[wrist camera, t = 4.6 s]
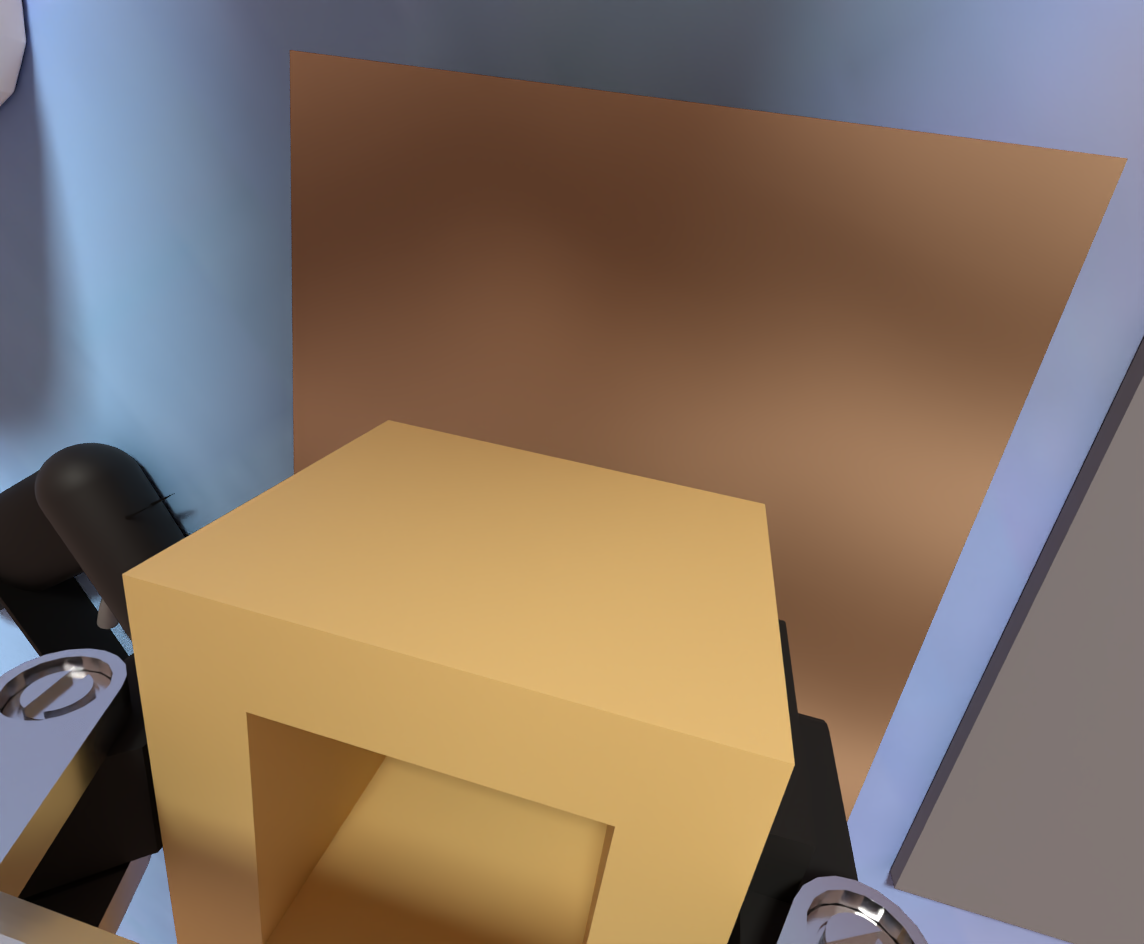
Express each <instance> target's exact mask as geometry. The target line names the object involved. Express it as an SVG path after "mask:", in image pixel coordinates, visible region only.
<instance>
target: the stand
mask: <svg viewBox="0 0 1144 944" xmlns="http://www.w3.org/2000/svg"><path fill="white" fill-rule="evenodd" d="M290 126H291V229H292V332H293V434H294V474H296V473H298V472H300V471H301V470H303V469H305V468H306V467H308V466H310V465H312V464H313V463H315V462H317V461H319V460H320V459H322V458H324V457H325V456H327V455H329V454H331V453H332V452H334V451H336V450H338V449H339V448H341V447H343V446H344V445H346V444H348V443H350V442H351V441H353V440H355V439H357V438H358V437H360V436H362V435H363V434H365V433H367V432H369V431H370V430H372V429H374V428H376V427H377V426H379V425H381V424H382V423H384V422H386V421H388V420H390V421H395V422H399V423H404V424H408V425H413V426H417V427H422V428H426V429H431V430H435V431H440V432H444V433H449V434H453V435H458V436H462V437H467V438H471V439H476V440H480V441H485V442H489V443H493V444H498V445H502V446H507V447H511V448H516V449H520V450H525V451H529V452H534V453H538V454H543V455H547V456H552V457H556V458H561V459H565V460H570V461H574V462H579V463H583V464H588V465H592V466H596V467H601V468H605V469H610V470H614V471H619V472H623V473H628V474H632V475H637V476H641V477H646V478H650V479H655V480H659V481H664V482H668V483H673V484H677V485H682V486H686V487H691V488H695V489H700V490H704V491H708V492H713V493H717V494H722V495H726V496H731V497H735V498H740V499H744V500H749V501H753V502H758V503H762V504H765V508H766V517H767V526H768V535H769V543H770V552H771V561H772V569H773V578H774V587H775V596H776V604H777V613H778V619H780V620H784V621H785V623H786V627H787V635H788V642H789V650H790V657H791V665H792V672H793V680H794V687H795V695H796V702H797V709H798V713H800V714H804V715H808V716H811V717H815V718H819V719H822V720H824V721H825V722H826V723H827V725H828V728H829V732H830V737H831V742H832V747H833V753H834V758H835V763H836V768H837V773H838V779H839V784H840V789H841V794H842V800H843V805H844V810H845V815H846V821H848V819H849V816H850V814H851V811H852V809H853V807H854V804H855V802H856V800H857V797H858V795H859V793H860V790H861V788H862V785H863V783H864V781H865V778H866V776H867V774H868V771H869V769H870V767H871V764H872V762H873V759H874V757H875V755H876V752H877V750H878V748H879V745H880V743H881V741H882V738H883V736H884V733H885V731H886V729H887V726H888V724H889V722H890V719H891V717H892V715H893V712H894V710H895V707H896V705H897V703H898V700H899V698H900V696H901V693H902V691H903V689H904V686H905V684H906V681H907V679H908V677H909V674H910V672H911V670H912V667H913V665H914V663H915V660H916V658H917V655H918V653H919V651H920V648H921V646H922V644H923V641H924V639H925V637H926V634H927V632H928V629H929V627H930V625H931V622H932V620H933V618H934V615H935V613H936V611H937V608H938V606H939V603H940V601H941V599H942V596H943V594H944V592H945V589H946V587H947V585H948V582H949V580H950V577H951V575H952V573H953V570H954V568H955V566H956V563H957V561H958V559H959V556H960V554H961V551H962V549H963V547H964V544H965V542H966V540H967V537H968V535H969V533H970V530H971V528H972V525H973V523H974V521H975V518H976V516H977V514H978V511H979V509H980V507H981V504H982V502H983V499H984V497H985V495H986V492H987V490H988V488H989V485H990V483H991V481H992V478H993V476H994V473H995V471H996V469H997V466H998V464H999V462H1000V459H1001V457H1002V455H1003V452H1004V450H1005V447H1006V445H1007V443H1008V440H1009V438H1010V436H1011V433H1012V431H1013V429H1014V426H1015V424H1016V421H1017V419H1018V417H1019V414H1020V412H1021V410H1022V407H1023V405H1024V403H1025V400H1026V398H1027V395H1028V393H1029V391H1030V388H1031V386H1032V384H1033V381H1034V379H1035V377H1036V374H1037V372H1038V369H1039V367H1040V365H1041V362H1042V360H1043V358H1044V355H1045V353H1046V351H1047V348H1048V346H1049V344H1050V341H1051V339H1052V336H1053V334H1054V332H1055V329H1056V327H1057V325H1058V322H1059V320H1060V318H1061V315H1062V313H1063V310H1064V308H1065V306H1066V303H1067V301H1068V299H1069V296H1070V294H1071V292H1072V289H1073V287H1074V284H1075V282H1076V280H1077V277H1078V275H1079V273H1080V270H1081V268H1082V266H1083V263H1084V261H1085V258H1086V256H1087V254H1088V251H1089V249H1090V247H1091V244H1092V242H1093V240H1094V237H1095V235H1096V232H1097V230H1098V228H1099V225H1100V223H1101V221H1102V218H1103V216H1104V214H1105V211H1106V209H1107V206H1108V204H1109V202H1110V199H1111V197H1112V195H1113V192H1114V190H1115V188H1116V185H1117V183H1118V180H1119V178H1120V176H1121V173H1122V171H1123V169H1124V166H1125V164H1126V162H1127V158H1119V157H1111V156H1104V155H1096V154H1088V153H1080V152H1073V151H1065V150H1057V149H1050V148H1042V147H1034V146H1026V145H1019V144H1011V143H1003V142H996V141H988V140H980V139H972V138H965V137H957V136H949V135H942V134H934V133H926V132H918V131H911V130H903V129H895V128H888V127H880V126H872V125H864V124H857V123H849V122H841V121H834V120H826V119H818V118H810V117H803V116H795V115H787V114H780V113H772V112H764V111H756V110H749V109H741V108H733V107H726V106H718V105H710V104H702V103H695V102H687V101H679V100H672V99H664V98H656V97H648V96H641V95H633V94H625V93H617V92H610V91H602V90H594V89H587V88H579V87H571V86H563V85H556V84H548V83H540V82H533V81H525V80H517V79H509V78H502V77H494V76H486V75H479V74H471V73H463V72H455V71H448V70H440V69H432V68H425V67H417V66H409V65H401V64H394V63H386V62H378V61H371V60H363V59H355V58H347V57H340V56H332V55H324V54H317V53H309V52H301V51H293V50H290Z"/></svg>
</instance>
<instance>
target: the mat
mask: <svg viewBox="0 0 1144 944" xmlns="http://www.w3.org/2000/svg"><path fill="white" fill-rule="evenodd" d="M890 872H891V876H892V880H893V884H894V888H896V889H899V890H902V891H905V892H909V893H912V894H915V895H918V896H922V897H925V898H928V899H931V900H935V901H938V902H941V903H944V904H948V905H951V906H954V907H957V908H961V909H964V910H967V911H970V912H973V913H977V914H980V915H983V916H986V917H990V918H993V919H996V920H999V921H1003V922H1006V923H1009V924H1012V925H1016V926H1019V927H1022V928H1025V929H1029V930H1032V931H1035V932H1038V933H1042V934H1045V935H1048V936H1051V937H1055V938H1058V939H1061V940H1064V941H1068V942H1071V943H1074V944H1144V339H1143V341H1142V343H1141V345H1140V347H1139V349H1138V351H1137V353H1136V356H1135V358H1134V360H1133V362H1132V364H1131V366H1130V368H1129V370H1128V372H1127V374H1126V377H1125V379H1124V381H1123V383H1122V385H1121V387H1120V389H1119V391H1118V393H1117V395H1116V398H1115V400H1114V402H1113V404H1112V406H1111V408H1110V410H1109V412H1108V414H1107V416H1106V419H1105V421H1104V423H1103V425H1102V427H1101V429H1100V431H1099V433H1098V435H1097V438H1096V440H1095V442H1094V444H1093V446H1092V448H1091V450H1090V452H1089V454H1088V456H1087V459H1086V461H1085V463H1084V465H1083V467H1082V469H1081V471H1080V473H1079V475H1078V477H1077V480H1076V482H1075V484H1074V486H1073V488H1072V490H1071V492H1070V494H1069V496H1068V498H1067V501H1066V503H1065V505H1064V507H1063V509H1062V511H1061V513H1060V515H1059V517H1058V520H1057V522H1056V524H1055V526H1054V528H1053V530H1052V532H1051V534H1050V536H1049V538H1048V541H1047V543H1046V545H1045V547H1044V549H1043V551H1042V553H1041V555H1040V557H1039V559H1038V562H1037V564H1036V566H1035V568H1034V570H1033V572H1032V574H1031V576H1030V578H1029V581H1028V583H1027V585H1026V587H1025V589H1024V591H1023V593H1022V595H1021V597H1020V599H1019V602H1018V604H1017V606H1016V608H1015V610H1014V612H1013V614H1012V616H1011V618H1010V620H1009V623H1008V625H1007V627H1006V629H1005V631H1004V633H1003V635H1002V637H1001V639H1000V641H999V644H998V646H997V648H996V650H995V652H994V654H993V656H992V658H991V660H990V663H989V665H988V667H987V669H986V671H985V673H984V675H983V677H982V679H981V681H980V684H979V686H978V688H977V690H976V692H975V694H974V696H973V698H972V700H971V702H970V705H969V707H968V709H967V711H966V713H965V715H964V717H963V719H962V721H961V723H960V726H959V728H958V730H957V732H956V734H955V736H954V738H953V740H952V742H951V745H950V747H949V749H948V751H947V753H946V755H945V757H944V759H943V761H942V763H941V766H940V768H939V770H938V772H937V774H936V776H935V778H934V780H933V782H932V784H931V787H930V789H929V791H928V793H927V795H926V797H925V799H924V801H923V803H922V805H921V808H920V810H919V812H918V814H917V816H916V818H915V820H914V822H913V824H912V827H911V829H910V831H909V833H908V835H907V837H906V839H905V841H904V843H903V845H902V848H901V850H900V852H899V854H898V856H897V858H896V860H895V862H894V864H893V866H892V869H891V871H890Z"/></svg>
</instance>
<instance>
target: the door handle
mask: <svg viewBox="0 0 1144 944" xmlns="http://www.w3.org/2000/svg"><path fill="white" fill-rule="evenodd" d="M172 495H173V494H172ZM169 496H171V495H169ZM169 496H167V497H164V498H162V499H160V497H159V496H158V494H157V493H156V491H155V490H154V488H153V486H152V485H151V483H150V482H149V480H148V479H147V477H146V476H145V474H144V472H143V471H142V469H141V468H140V466H139V465H138V463H137V462H136V461H135V460H134V459H133V458H132V457H131V456H129V455H128V454H127V453H125V452H124V451H122V450H120V449H118V448H115V447H113V446H109V445H105V444H99V443H83V444H77V445H73V446H70V447H67V448H64V449H62V450H60V451H58V452H57V453H55V454H54V455H52V456H51V457H50V458H49V459H48V460H47V461H46V462H45V463H44V464H43V465H42V467H41V468H40V470H39V471H37V472H35V473H34V474H32V475H30V476H29V477H27V478H25V479H24V480H22V481H20V482H19V483H17V484H15V485H14V486H12V487H10V488H9V489H7V490H5V491H4V492H2V493H0V610H2V609H4V608H5V609H6V611H7V612H8V613H9V615H10V616H11V617H12V619H13V620H14V622H15V623H16V624H17V626H18V627H19V628H20V630H21V631H22V633H23V634H24V635H25V637H26V638H27V639H28V641H29V642H30V644H31V645H32V646H33V648H34V649H35V650H36V652H37V653H38V655H39V656H40V657H41V656H43V655H46V654H51V653H55V652H60V651H65V650H73V649H96V650H104V651H107V652H110V653H112V654H114V655H117V656H118V657H119V658H120V659H121V660H122V661H123V660H125V659H126V658H128V657H129V656H128V654H127V653H126V652H125V650H124V649H123V647H122V646H121V644H120V643H119V641H118V640H117V639H116V637H115V636H114V634H113V633H112V631H111V630H110V628H113V627H115V626H117V625H118V622H119V623H120V625H121V626H122V628H123V629H124V631H125V632H126V634H127V635H128V637H129V638H130V640H131V641H132V637H131V631H130V624H129V617H128V611H127V604H126V597H125V591H124V584H123V577H122V574H123V573H125V572H127V571H129V570H130V569H132V568H134V567H136V566H137V565H139V564H141V563H142V562H144V561H146V560H148V559H149V558H151V557H153V556H155V555H156V554H158V553H160V552H161V551H163V550H165V549H167V548H168V547H170V546H172V545H174V544H175V543H177V542H179V541H180V540H182V539H184V538H185V537H184V535H183V533H182V532H181V530H180V529H179V527H178V526H177V524H176V523H175V521H174V519H173V518H172V516H171V515H170V513H169V512H168V510H167V508H166V507H165V505H164V504H163V502H162V501H163V500H164V499H166V498H168V497H169ZM83 572H85V574H86V575H87V577H88V578H89V580H90V581H91V583H92V584H93V586H94V587H95V588H96V590H97V591H98V593H99V594H100V596H101V597H102V599H101V603H100V606H99V611H97V610H96V608H95V607H94V605H93V604H92V602H91V601H90V599H89V598H88V597H87V595H86V594H85V592H84V591H83V589H82V588H81V586H80V585H79V584H78V582H77V581H76V579H75V578H74V576H76V575H78V574H81V573H83Z"/></svg>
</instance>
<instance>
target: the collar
mask: <svg viewBox="0 0 1144 944" xmlns="http://www.w3.org/2000/svg"><path fill="white" fill-rule="evenodd" d="M122 577H123V584H124V591H125V597H126V604H127V611H128V617H129V624H130V631H131V637H132V644H133V651H134V657H135V664H136V671H137V677H138V684H139V691H140V697H141V704H142V711H143V717H144V724H145V731H146V737H147V744H148V751H149V757H150V764H151V771H152V777H153V784H154V791H155V797H156V804H157V811H158V817H159V824H160V831H161V837H162V844H163V851H164V857H165V864H166V871H167V877H168V884H169V891H170V897H171V904H172V911H173V917H174V924H175V931H176V937H177V944H727V943H728V940H729V938H730V935H731V932H732V930H733V927H734V924H735V922H736V919H737V916H738V914H739V911H740V909H741V906H742V903H743V901H744V898H745V895H746V893H747V890H748V887H749V885H750V882H751V879H752V877H753V874H754V871H755V869H756V866H757V864H758V861H759V858H760V856H761V853H762V850H763V848H764V845H765V842H766V840H767V837H768V834H769V832H770V829H771V826H772V824H773V821H774V819H775V816H776V813H777V811H778V808H779V805H780V803H781V800H782V797H783V795H784V792H785V789H786V787H787V784H788V781H789V779H790V776H791V774H792V771H793V768H794V766H795V762H794V753H793V744H792V735H791V727H790V718H789V709H788V700H787V692H786V683H785V674H784V666H783V657H782V648H781V639H780V631H779V622H778V613H777V604H776V596H775V587H774V578H773V569H772V561H771V552H770V543H769V535H768V526H767V517H766V508H765V504H762V503H758V502H753V501H749V500H744V499H740V498H735V497H731V496H726V495H722V494H717V493H713V492H708V491H704V490H700V489H695V488H691V487H686V486H682V485H677V484H673V483H668V482H664V481H659V480H655V479H650V478H646V477H641V476H637V475H632V474H628V473H623V472H619V471H614V470H610V469H605V468H601V467H596V466H592V465H588V464H583V463H579V462H574V461H570V460H565V459H561V458H556V457H552V456H547V455H543V454H538V453H534V452H529V451H525V450H520V449H516V448H511V447H507V446H502V445H498V444H493V443H489V442H485V441H480V440H476V439H471V438H467V437H462V436H458V435H453V434H449V433H444V432H440V431H435V430H431V429H426V428H422V427H417V426H413V425H408V424H404V423H399V422H395V421H390V420H388V421H386V422H384V423H382V424H381V425H379V426H377V427H376V428H374V429H372V430H370V431H369V432H367V433H365V434H363V435H362V436H360V437H358V438H357V439H355V440H353V441H351V442H350V443H348V444H346V445H344V446H343V447H341V448H339V449H338V450H336V451H334V452H332V453H331V454H329V455H327V456H325V457H324V458H322V459H320V460H319V461H317V462H315V463H313V464H312V465H310V466H308V467H306V468H305V469H303V470H301V471H300V472H298V473H296V474H294V475H293V476H291V477H289V478H287V479H286V480H284V481H282V482H281V483H279V484H277V485H275V486H274V487H272V488H270V489H268V490H267V491H265V492H263V493H262V494H260V495H258V496H256V497H255V498H253V499H251V500H250V501H248V502H246V503H244V504H243V505H241V506H239V507H237V508H236V509H234V510H232V511H231V512H229V513H227V514H225V515H224V516H222V517H220V518H218V519H217V520H215V521H213V522H212V523H210V524H208V525H206V526H205V527H203V528H201V529H199V530H198V531H196V532H194V533H193V534H191V535H189V536H187V537H186V538H184V539H182V540H180V541H179V542H177V543H175V544H174V545H172V546H170V547H168V548H167V549H165V550H163V551H161V552H160V553H158V554H156V555H155V556H153V557H151V558H149V559H148V560H146V561H144V562H142V563H141V564H139V565H137V566H136V567H134V568H132V569H130V570H129V571H127V572H125V573H123V574H122Z"/></svg>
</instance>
